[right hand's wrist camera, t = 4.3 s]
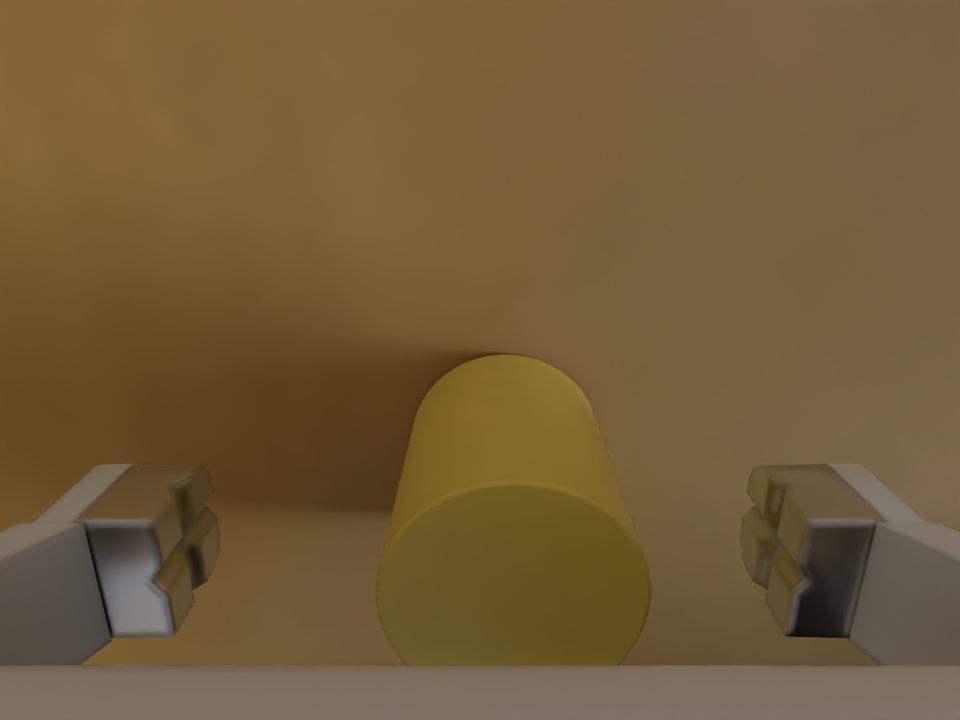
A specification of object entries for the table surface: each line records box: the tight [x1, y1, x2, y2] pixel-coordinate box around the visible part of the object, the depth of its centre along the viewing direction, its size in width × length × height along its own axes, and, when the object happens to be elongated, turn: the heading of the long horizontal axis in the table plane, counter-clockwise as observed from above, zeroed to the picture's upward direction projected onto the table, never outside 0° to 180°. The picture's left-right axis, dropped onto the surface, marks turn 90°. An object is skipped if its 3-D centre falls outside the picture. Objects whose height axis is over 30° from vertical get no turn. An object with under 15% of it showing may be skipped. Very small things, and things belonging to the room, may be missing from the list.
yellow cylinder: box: [376, 355, 651, 665], centre depth 11 cm, size 4×4×5 cm
